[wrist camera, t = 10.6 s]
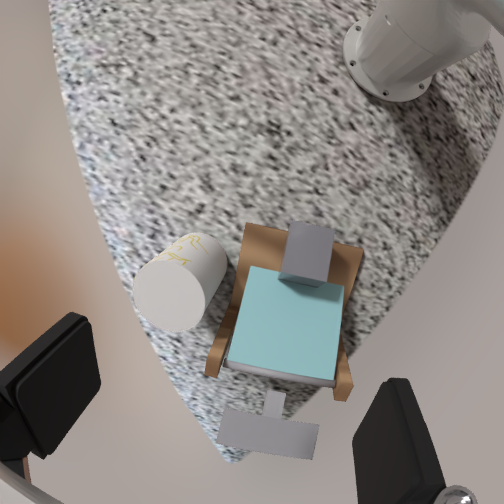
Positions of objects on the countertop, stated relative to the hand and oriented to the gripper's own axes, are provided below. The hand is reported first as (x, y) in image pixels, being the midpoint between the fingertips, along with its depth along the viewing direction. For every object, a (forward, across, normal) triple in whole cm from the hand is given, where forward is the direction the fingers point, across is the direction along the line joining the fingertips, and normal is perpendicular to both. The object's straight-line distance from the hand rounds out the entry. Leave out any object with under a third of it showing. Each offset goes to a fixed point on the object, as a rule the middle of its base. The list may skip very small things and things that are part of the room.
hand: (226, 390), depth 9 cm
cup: (+32, +10, +9) cm, 35 cm away
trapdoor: (+23, -3, +17) cm, 28 cm away
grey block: (+26, -4, +7) cm, 27 cm away
